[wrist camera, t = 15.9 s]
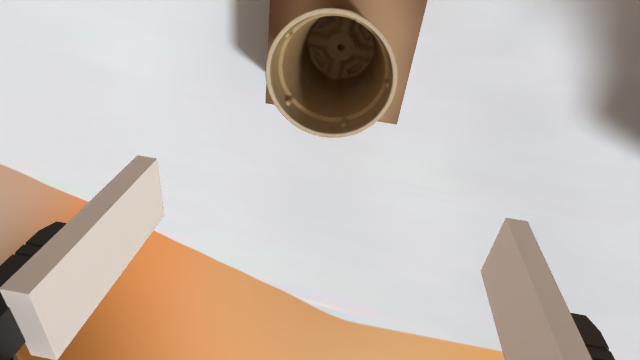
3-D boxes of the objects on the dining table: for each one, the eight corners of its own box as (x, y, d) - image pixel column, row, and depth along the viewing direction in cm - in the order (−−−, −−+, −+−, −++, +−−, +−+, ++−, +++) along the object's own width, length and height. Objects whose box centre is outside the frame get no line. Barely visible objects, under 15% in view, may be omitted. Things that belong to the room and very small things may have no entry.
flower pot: (352, 115, 39) (346, 159, 32) (269, 59, 37) (243, 93, 30) (416, 33, 34) (426, 63, 27) (325, -37, 32) (309, -23, 25)
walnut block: (426, -32, 37) (433, -24, 32) (394, 100, 44) (396, 124, 39) (286, -52, 38) (272, -47, 33) (278, 82, 45) (265, 103, 40)
